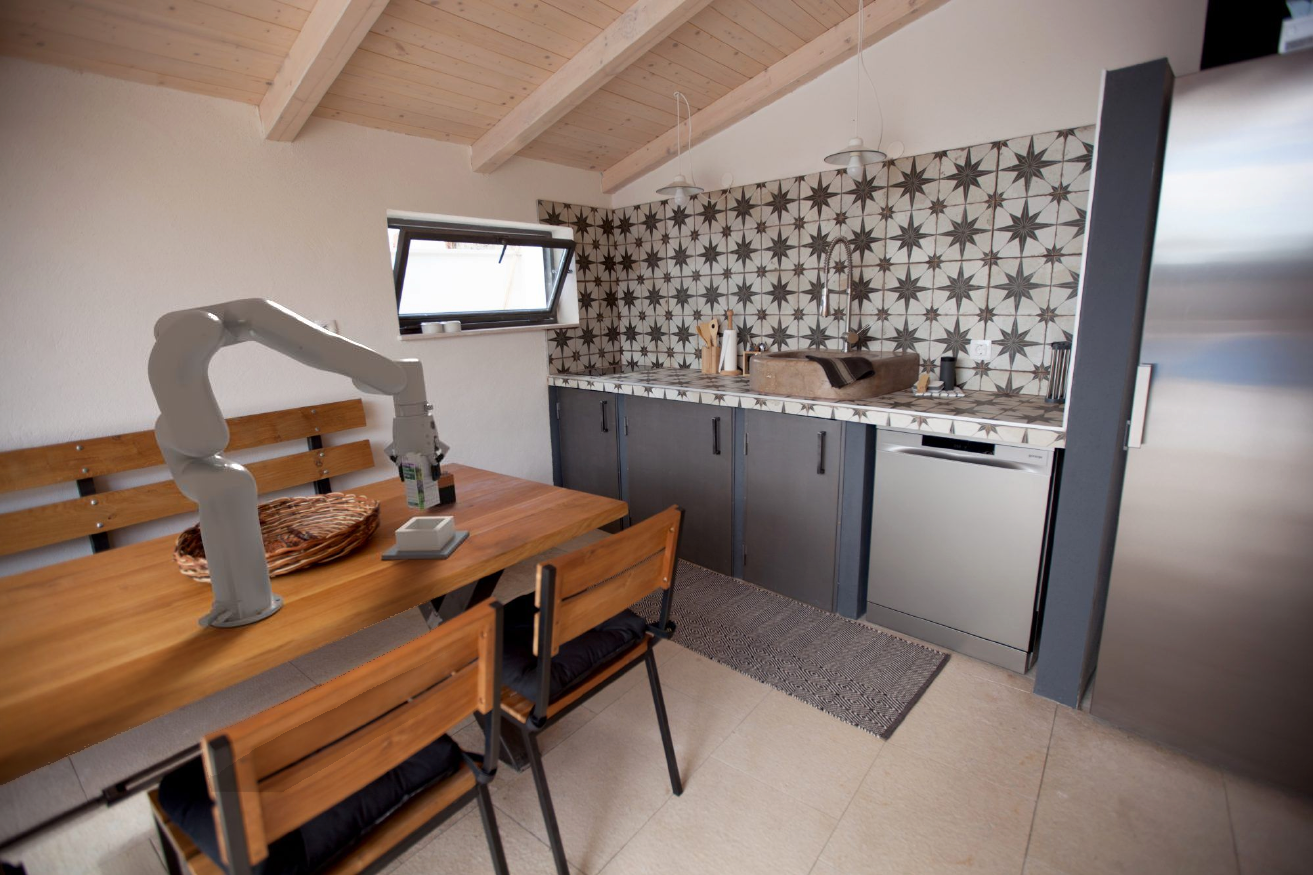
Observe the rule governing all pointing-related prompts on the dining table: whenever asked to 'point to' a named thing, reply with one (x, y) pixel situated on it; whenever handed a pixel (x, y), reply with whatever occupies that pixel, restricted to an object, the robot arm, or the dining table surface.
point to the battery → (446, 488)
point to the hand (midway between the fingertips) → (420, 479)
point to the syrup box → (419, 481)
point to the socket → (426, 539)
